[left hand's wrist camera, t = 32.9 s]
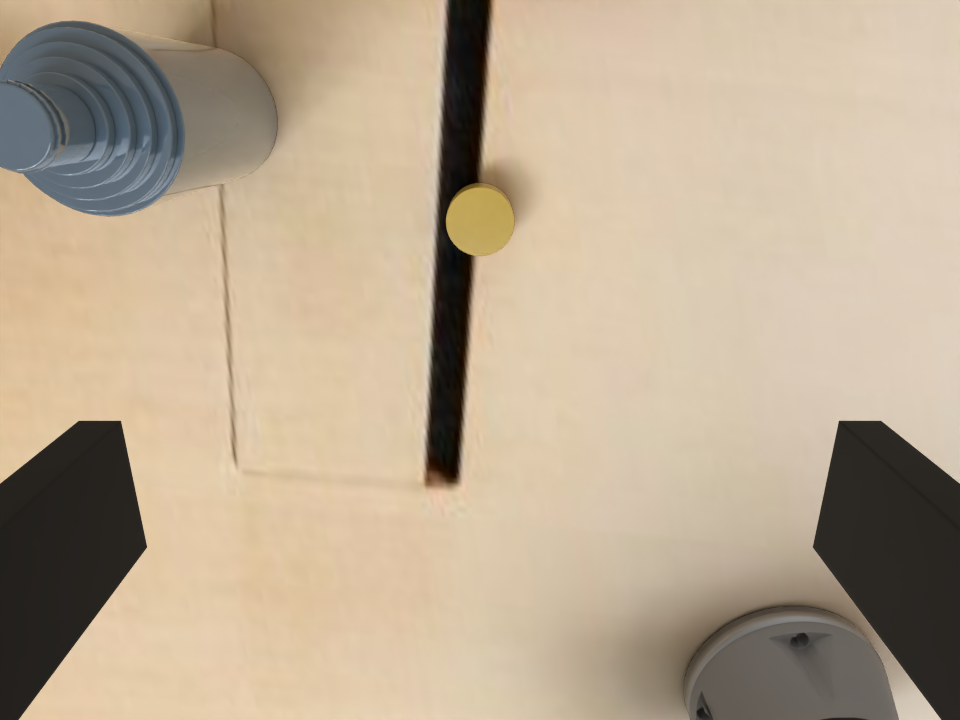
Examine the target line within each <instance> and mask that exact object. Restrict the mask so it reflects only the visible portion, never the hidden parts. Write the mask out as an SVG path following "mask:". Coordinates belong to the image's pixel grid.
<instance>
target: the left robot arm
mask: <svg viewBox="0 0 960 720" xmlns="http://www.w3.org/2000/svg"><path fill="white" fill-rule="evenodd" d="M146 548H147V545H146V540H145V535H144V530H143V525H142V521H141V516H140V511H139V506H138V501H137V496H136V492H135V487H134V482H133V477H132V472H131V467H130V463H129V458H128V453H127V448H126V443H125V438H124V434H123V429H122V424H121V421H78V422H77V423H76V424H75V425H73V426H72V427H71V428H70V429H68V430H67V431H66V432H65V433H63V434H62V435H61V436H60V437H58V438H57V439H56V440H55V441H53V442H52V443H51V444H49V445H48V446H47V447H46V448H44V449H43V450H42V451H41V452H39V453H38V454H37V455H36V456H34V457H33V458H32V459H31V460H29V461H28V462H27V463H26V464H24V465H23V466H22V467H21V468H19V469H18V470H17V471H16V472H14V473H13V474H12V475H11V476H9V477H8V478H7V479H6V480H4V481H3V482H2V483H1V484H0V720H19V718H20V717H21V716H22V714H23V713H24V712H25V710H26V709H27V708H28V706H29V705H30V704H31V702H32V701H33V700H34V698H35V697H36V696H37V694H38V693H39V692H40V690H41V689H42V688H43V686H44V685H45V683H46V682H47V681H48V679H49V678H50V677H51V675H52V674H53V673H54V671H55V670H56V669H57V667H58V666H59V665H60V663H61V662H62V661H63V659H64V658H65V657H66V655H67V654H68V653H69V651H70V650H71V649H72V647H73V646H74V645H75V643H76V642H77V641H78V639H79V638H80V637H81V635H82V634H83V632H84V631H85V630H86V628H87V627H88V626H89V624H90V623H91V622H92V620H93V619H94V618H95V616H96V615H97V614H98V612H99V611H100V610H101V608H102V607H103V606H104V604H105V603H106V602H107V600H108V599H109V598H110V596H111V595H112V594H113V592H114V591H115V590H116V588H117V587H118V586H119V584H120V583H121V582H122V580H123V579H124V577H125V576H126V575H127V573H128V572H129V571H130V569H131V568H132V567H133V565H134V564H135V563H136V561H137V560H138V559H139V557H140V556H141V555H142V553H143V552H144V551H145V549H146ZM813 548H814V549H815V551H816V552H817V553H818V555H819V556H820V557H821V559H822V560H823V561H824V563H825V564H826V565H827V567H828V568H829V569H830V571H831V572H832V573H833V575H834V576H835V577H836V579H837V580H838V582H839V583H840V584H841V586H842V587H843V588H844V590H845V591H846V592H847V594H848V595H849V596H850V598H851V599H852V600H853V602H854V603H855V604H856V606H857V607H858V608H859V610H860V611H861V612H862V614H863V615H864V616H865V618H866V619H867V620H868V622H869V623H870V624H871V626H872V627H873V628H874V630H875V631H876V633H877V634H878V635H879V637H880V638H881V639H882V641H883V642H884V643H885V645H886V646H887V647H888V649H889V650H890V651H891V653H892V654H893V655H894V657H895V658H896V659H897V661H898V662H899V663H900V665H901V666H902V667H903V669H904V670H905V671H906V673H907V674H908V675H909V677H910V678H911V679H912V681H913V682H914V683H915V685H916V686H917V688H918V689H919V690H920V692H921V693H922V694H923V696H924V697H925V698H926V700H927V701H928V702H929V704H930V705H931V706H932V708H933V709H934V710H935V712H936V713H937V714H938V716H939V717H940V718H941V720H960V484H959V483H958V482H957V481H956V480H954V479H953V478H952V477H951V476H949V475H948V474H947V473H946V472H944V471H943V470H942V469H941V468H939V467H938V466H937V465H936V464H934V463H933V462H932V461H931V460H929V459H928V458H927V457H926V456H924V455H923V454H922V453H921V452H919V451H918V450H917V449H916V448H914V447H913V446H912V445H910V444H909V443H908V442H907V441H905V440H904V439H903V438H902V437H900V436H899V435H898V434H897V433H895V432H894V431H893V430H892V429H890V428H889V427H888V426H887V425H885V424H884V423H883V422H882V421H839V424H838V429H837V434H836V438H835V443H834V448H833V453H832V458H831V463H830V467H829V472H828V477H827V482H826V487H825V492H824V496H823V501H822V506H821V511H820V516H819V521H818V525H817V530H816V535H815V540H814V545H813ZM684 700H685V704H686V707H687V710H688V713H689V716H690V719H691V720H899V718H898V714H897V711H896V707H895V703H894V700H893V696H892V692H891V689H890V685H889V681H888V678H887V674H886V671H885V669H884V666H883V663H882V661H881V659H880V657H879V656H878V654H877V652H876V651H875V649H874V648H873V647H872V645H871V644H870V643H869V641H868V640H867V638H866V637H865V636H864V635H863V633H862V632H861V631H860V630H859V629H858V628H857V627H856V626H855V625H853V624H852V623H851V622H849V621H848V620H846V619H844V618H843V617H841V616H839V615H836V614H834V613H832V612H829V611H826V610H822V609H817V608H812V607H802V606H785V607H776V608H770V609H765V610H761V611H757V612H754V613H751V614H749V615H746V616H744V617H741V618H739V619H737V620H735V621H733V622H731V623H729V624H728V625H726V626H725V627H723V628H721V629H720V630H719V631H717V632H716V633H715V634H713V635H712V636H711V637H710V638H709V639H708V640H707V641H706V642H705V643H704V644H703V645H702V646H701V647H700V649H699V650H698V651H697V653H696V654H695V656H694V657H693V659H692V661H691V663H690V665H689V667H688V670H687V672H686V676H685V680H684Z"/></svg>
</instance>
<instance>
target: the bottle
mask: <svg viewBox="0 0 960 720" xmlns="http://www.w3.org/2000/svg"><path fill="white" fill-rule="evenodd" d="M276 134H277V113H276V107H275V103H274V100H273V97H272V95H271V92H270V90H269V88H268V86H267V85H266V83H265V81H264V80H263V78H262V77H261V76H260V74H259V73H258V72H257V71H256V70H255V69H254V68H253V67H252V66H251V65H250V64H249V63H248V62H246V61H245V60H243V59H242V58H240V57H239V56H237V55H235V54H233V53H231V52H229V51H226V50H223V49H219V48H215V47H210V46H205V45H200V44H195V43H190V42H185V41H180V40H175V39H170V38H165V37H160V36H155V35H150V34H145V33H140V32H135V31H130V30H125V29H120V28H115V27H110V26H105V25H100V24H95V23H90V22H83V21H61V22H56V23H51V24H48V25H45V26H43V27H40V28H38V29H36V30H34V31H33V32H31V33H29V34H28V35H26V36H25V37H24V38H23V39H22V40H20V41H19V42H18V43H17V45H16V46H15V47H14V48H13V49H12V50H11V52H10V53H9V55H8V56H7V58H6V59H5V61H4V63H3V64H2V66H1V69H0V167H2V168H4V169H7V170H10V171H13V172H17V173H23V174H24V175H25V177H26V178H27V179H28V180H30V181H31V182H32V183H33V184H34V185H35V186H36V187H37V188H39V189H40V190H41V191H43V192H44V193H45V194H47V195H48V196H50V197H51V198H53V199H55V200H56V201H58V202H59V203H61V204H63V205H65V206H67V207H70V208H72V209H74V210H77V211H80V212H83V213H87V214H92V215H96V216H122V215H127V214H132V213H135V212H138V211H141V210H144V209H147V208H150V207H153V206H156V205H159V204H162V203H166V202H169V201H172V200H175V199H178V198H181V197H184V196H187V195H190V194H193V193H196V192H199V191H203V190H206V189H209V188H212V187H215V186H218V185H221V184H224V183H227V182H230V181H233V180H236V179H239V178H242V177H245V176H247V175H249V174H251V173H252V172H254V171H255V170H256V169H258V168H259V167H260V166H261V165H262V164H263V163H264V161H265V160H266V159H267V157H268V156H269V154H270V152H271V150H272V148H273V145H274V143H275V138H276Z"/></svg>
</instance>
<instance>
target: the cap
mask: <svg viewBox="0 0 960 720" xmlns="http://www.w3.org/2000/svg"><path fill="white" fill-rule="evenodd" d="M514 222H515V221H514V213H513V210H512V207H511V204H510V201H509V199H508V198H507V196H506V195H505V194H504V193H503V192H502V191H501V190H500V189H498V188H497V187H495V186H493V185H490V184H486V183H474V184H470V185H468V186H466V187H464V188H462V189H461V190H459V191H458V192H457V193H456V195H455V196H454V197H453V199H452V200H451V203H450V205H449V209H448V212H447V217H446V227H447V231H448V234H449V237H450V238H451V240H452V242H453V243H454V244H455V245H456V246H457V247H458V248H459V249H460V250H462V251H463V252H465V253H467V254H470V255H474V256H486V255H490V254H493V253H495V252H497V251H499V250H500V249H502V248H503V247H504V246H505V245H506V244H507V243H508V241H509V240H510V238H511V236H512V233H513V230H514Z"/></svg>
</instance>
